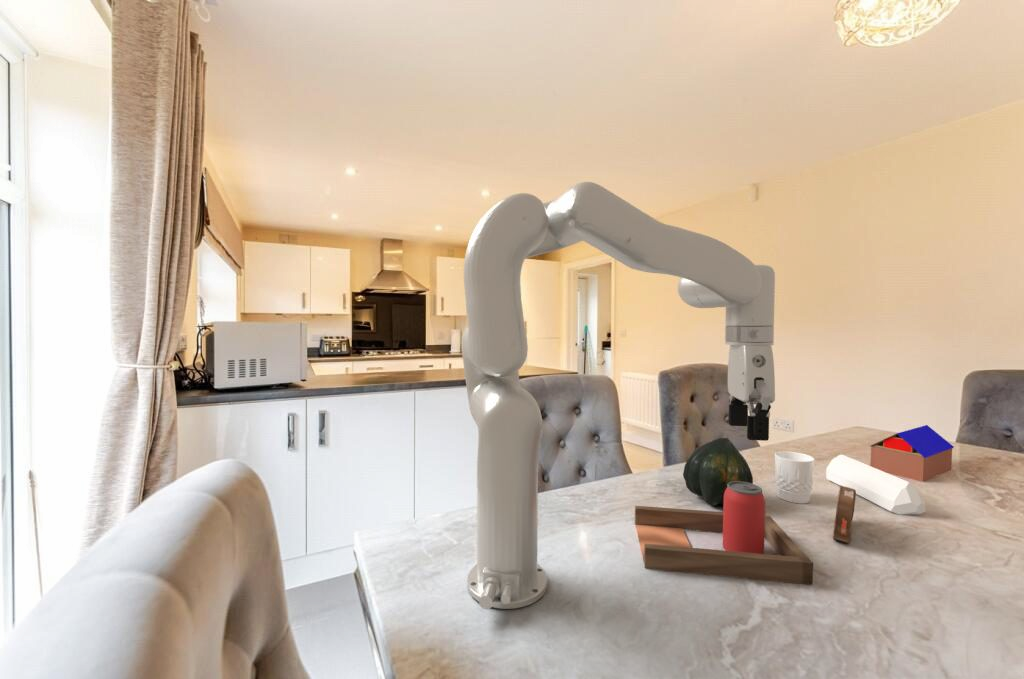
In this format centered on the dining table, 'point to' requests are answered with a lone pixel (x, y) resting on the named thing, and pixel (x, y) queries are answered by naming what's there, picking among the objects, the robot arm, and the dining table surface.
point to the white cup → (794, 476)
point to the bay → (674, 553)
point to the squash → (715, 470)
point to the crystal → (876, 486)
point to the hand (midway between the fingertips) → (747, 432)
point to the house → (913, 454)
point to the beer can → (743, 518)
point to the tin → (844, 514)
